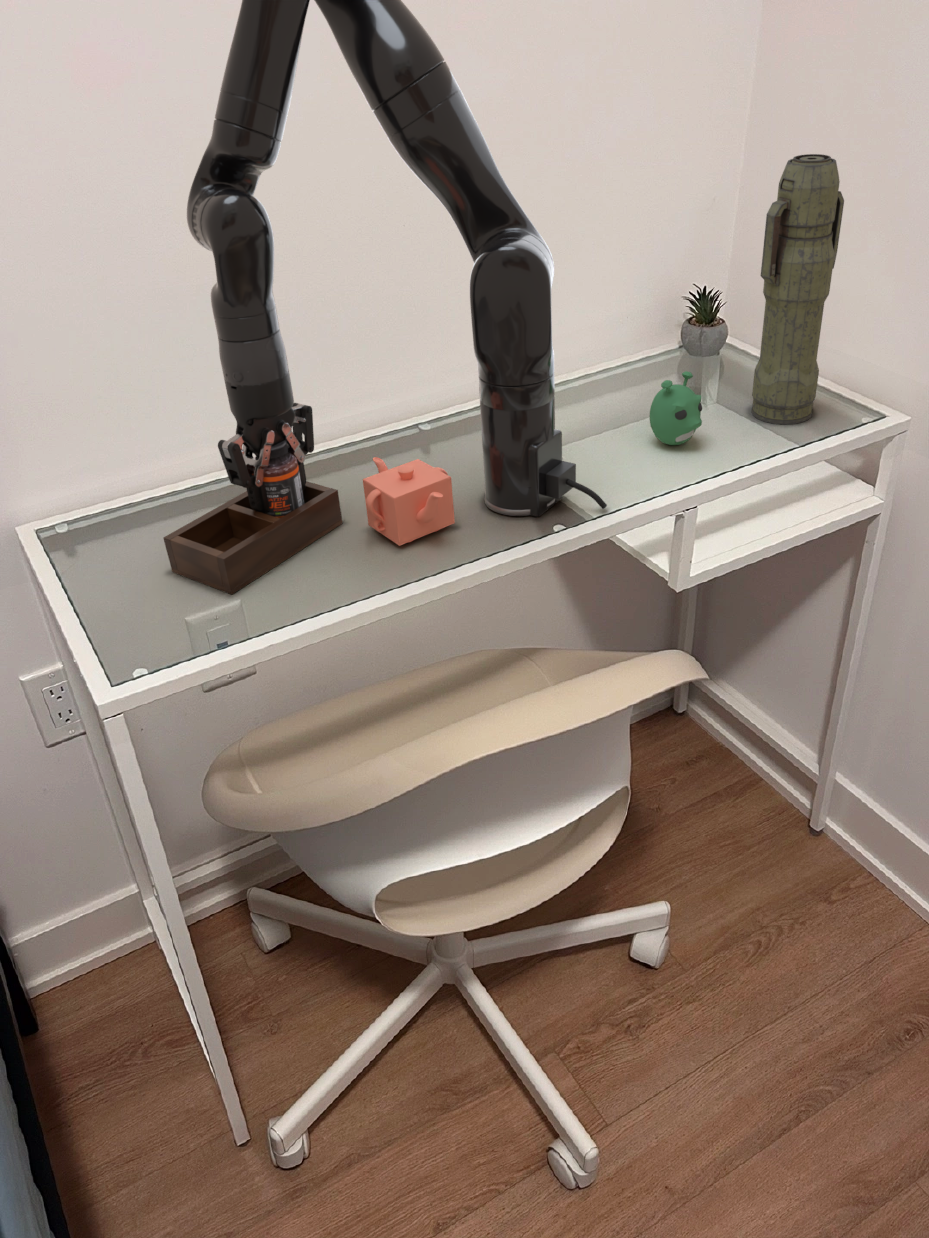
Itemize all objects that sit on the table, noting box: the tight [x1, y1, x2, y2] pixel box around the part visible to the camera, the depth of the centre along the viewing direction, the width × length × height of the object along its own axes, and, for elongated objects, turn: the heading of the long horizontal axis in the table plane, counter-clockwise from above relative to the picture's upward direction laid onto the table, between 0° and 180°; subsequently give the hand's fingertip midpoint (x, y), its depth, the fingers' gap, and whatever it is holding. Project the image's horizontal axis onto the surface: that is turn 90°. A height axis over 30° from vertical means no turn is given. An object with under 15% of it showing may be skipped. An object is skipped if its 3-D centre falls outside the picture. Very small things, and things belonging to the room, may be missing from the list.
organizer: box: [162, 480, 344, 595], centre depth 124 cm, size 10×20×5 cm, turn 145°
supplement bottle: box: [252, 440, 304, 518], centre depth 125 cm, size 6×6×11 cm
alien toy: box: [649, 370, 703, 446], centre depth 140 cm, size 7×8×10 cm
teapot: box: [362, 456, 456, 547], centre depth 125 cm, size 12×15×8 cm
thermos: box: [751, 153, 845, 425], centre depth 140 cm, size 9×12×35 cm
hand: (279, 499), depth 126 cm, fingers closed on supplement bottle, 6 cm apart
